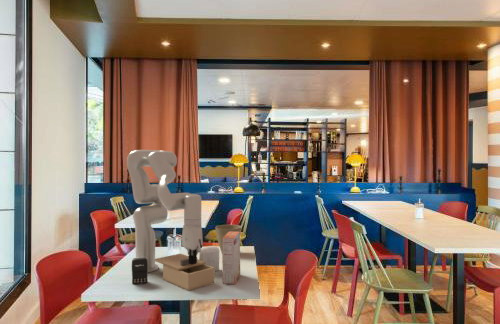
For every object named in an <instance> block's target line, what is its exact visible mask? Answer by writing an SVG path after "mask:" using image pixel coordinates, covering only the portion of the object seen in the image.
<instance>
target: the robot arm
mask: <svg viewBox="0 0 500 324" xmlns="http://www.w3.org/2000/svg"><path fill="white" fill-rule="evenodd" d="M177 163H178V158H177V156H176V153H174V151H170V150H157V149H135V150H132V151H130V153H129V154H128V155H127V158H126V166H127V171H128V174H129V176H130V181H131V187H132V194H133V200H134V201H135V203H136V204H138V205H143V206H139V207H137V208H136V209H135V210H134V212H133V223H134V230H135V231H134V232H135V233H134V234H135V258H136V257H146V258H147V259H148V273H152V272H155V271H157V270H158V269H159V264H157V263H156V261H154V259H156V232H155V230H154V228H153V226H152V225H156V224H162V223H164V222H166V221H167V219H168V211H171V212H172V211H179V210H183V227H182V231H181V232H182V233H181V246H182V247H183V248H184V249H185V250H186V251H187V256H189V264H190V265H193V264H196V263H197V259H198V257H197V256H198V254H199V252H201V249H202V248H203V245H204V241H203V229H202V196H201V195H200V194H196V193H190V192H177V193H175V192H174V193H171V191H170V190H169V187H168V185H169V184H171V183H172V182H173V181H174V180H175V179H176V176H177V173H176V171H175V169H174V168H175V167H176V166H177ZM144 167H151V170H152V171H153V173H154V174H155V177H156V178H157V180H158V184H156V183H155V184H154V183H152V184H150V179H149V174H148V173H147V172H146V170H145V169H144ZM144 204H151V205H144Z"/></svg>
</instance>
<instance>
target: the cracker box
mask: <svg viewBox="0 0 500 324" xmlns="http://www.w3.org/2000/svg"><path fill="white" fill-rule="evenodd" d="M221 255H222V260H221V261H222V263H221V264H222V284H223V285H224V284H225V285H235V284H236V283H237V281H238V279H239V277H240V275H241V232H233V231H230V232H228V233H227V234H226V235H225V236H224V237H223V238H222V252H221Z"/></svg>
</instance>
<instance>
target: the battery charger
mask: <svg viewBox="0 0 500 324" xmlns="http://www.w3.org/2000/svg"><path fill="white" fill-rule="evenodd" d="M148 276H149V272H148V259H147V258H146V257H136V256H135V257H134V258H132V260H131V283H132V285H143V284H147V283H148V282H149V281H148V280H149V279H148Z"/></svg>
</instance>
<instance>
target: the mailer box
mask: <svg viewBox="0 0 500 324" xmlns="http://www.w3.org/2000/svg"><path fill="white" fill-rule="evenodd" d="M162 280H163V281H165V282H167V283H170V284H171V285H174V286H175V287H176V286H177V287H178V288H180V289H182V290H185V291H187V292H189V291H193V290H196V289H200V288H203V287H205V286H209V285H213V284H215V271H214V267H211V266H208V265H205V264H202V265H198V266H194V267H190V268H186V269H182V270H176V269H174V268H171V267H169V266H166V265H164V264H162Z"/></svg>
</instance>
